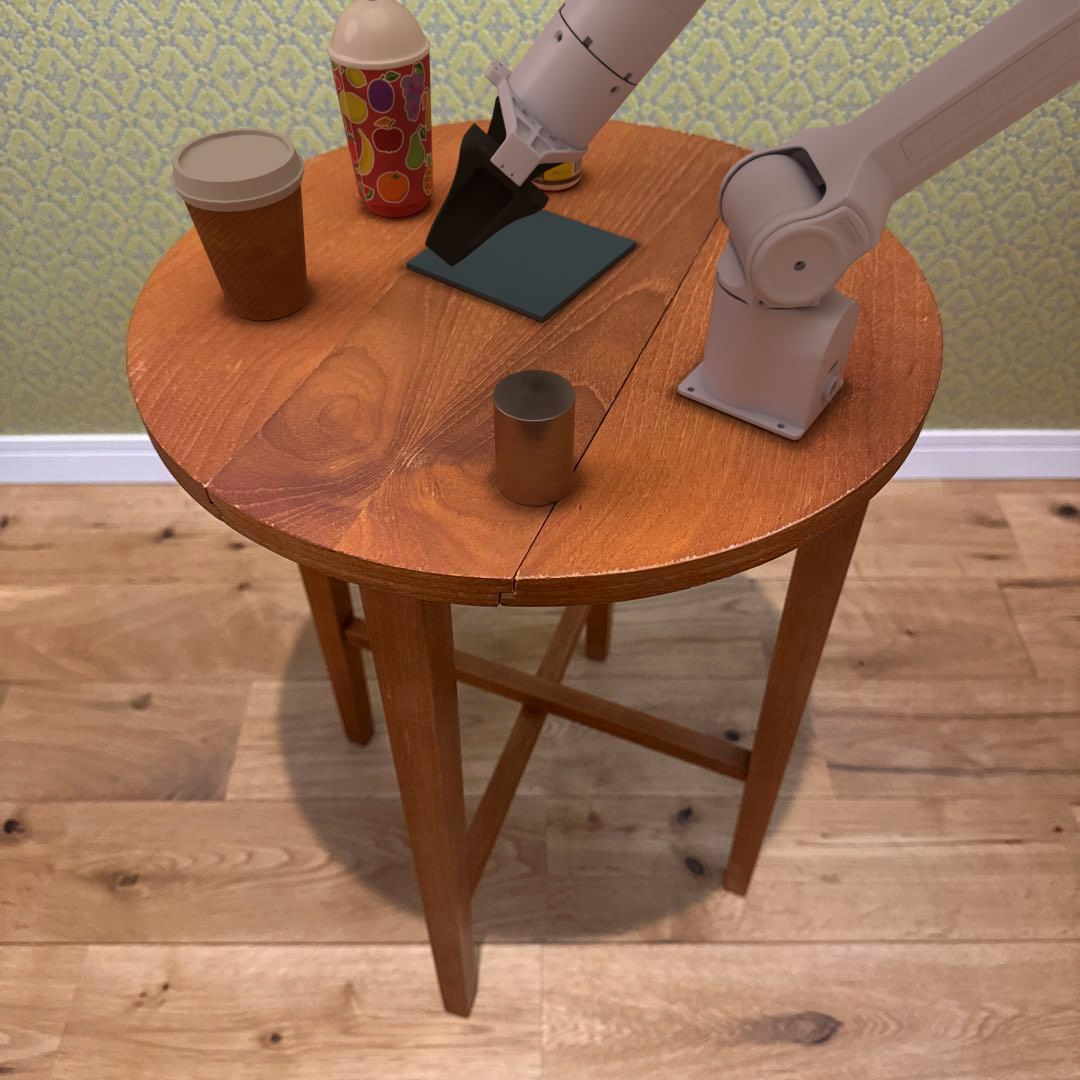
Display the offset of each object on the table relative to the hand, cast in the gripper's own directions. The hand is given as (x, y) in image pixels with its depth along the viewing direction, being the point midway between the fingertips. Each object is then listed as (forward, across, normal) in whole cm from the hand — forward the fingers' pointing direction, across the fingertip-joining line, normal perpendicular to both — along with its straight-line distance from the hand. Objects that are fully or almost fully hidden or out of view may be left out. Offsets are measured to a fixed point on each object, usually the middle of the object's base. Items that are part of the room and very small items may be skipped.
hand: (453, 232), depth 60 cm
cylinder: (+7, +5, +14) cm, 16 cm away
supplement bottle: (+5, -36, +5) cm, 37 cm away
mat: (+7, -22, +6) cm, 24 cm away
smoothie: (+14, -29, -5) cm, 33 cm away
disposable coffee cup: (+20, -13, -8) cm, 25 cm away
